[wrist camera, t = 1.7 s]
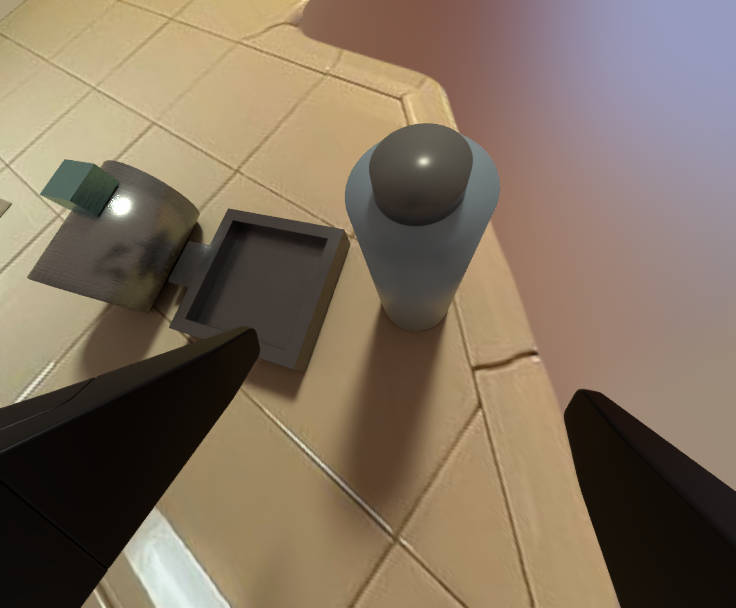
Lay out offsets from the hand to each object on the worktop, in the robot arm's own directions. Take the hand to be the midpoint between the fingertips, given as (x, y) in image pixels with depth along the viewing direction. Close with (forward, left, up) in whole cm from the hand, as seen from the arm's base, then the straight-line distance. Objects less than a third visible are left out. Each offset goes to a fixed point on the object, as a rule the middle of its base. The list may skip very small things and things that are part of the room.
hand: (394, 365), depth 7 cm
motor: (+4, +18, -12) cm, 22 cm away
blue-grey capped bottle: (+6, +1, -12) cm, 13 cm away
